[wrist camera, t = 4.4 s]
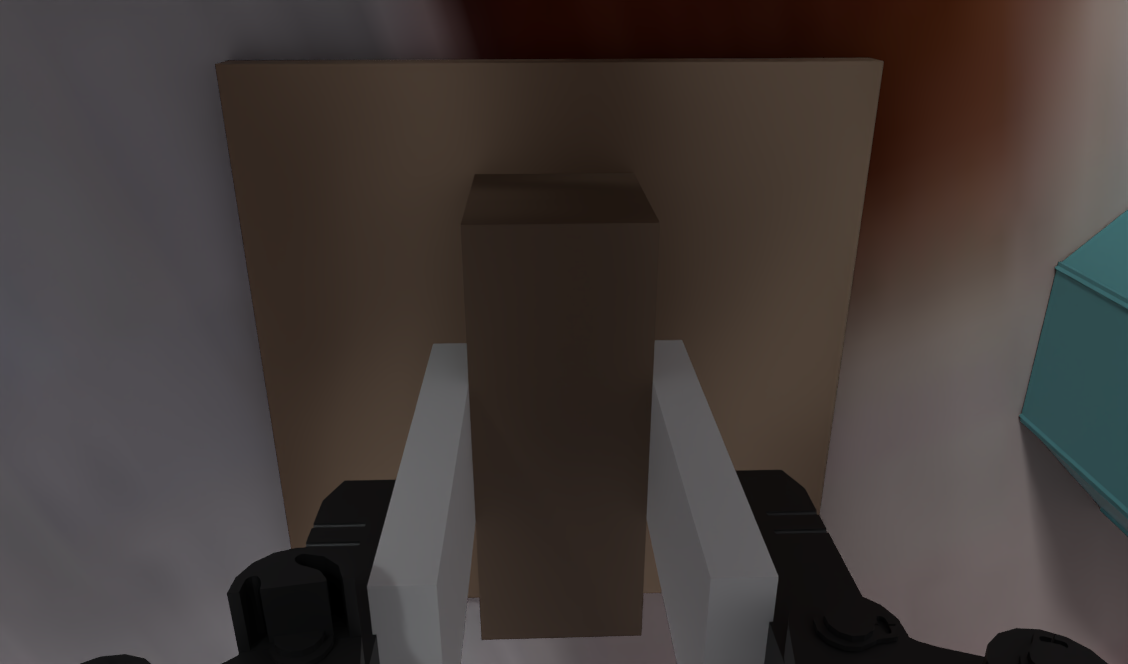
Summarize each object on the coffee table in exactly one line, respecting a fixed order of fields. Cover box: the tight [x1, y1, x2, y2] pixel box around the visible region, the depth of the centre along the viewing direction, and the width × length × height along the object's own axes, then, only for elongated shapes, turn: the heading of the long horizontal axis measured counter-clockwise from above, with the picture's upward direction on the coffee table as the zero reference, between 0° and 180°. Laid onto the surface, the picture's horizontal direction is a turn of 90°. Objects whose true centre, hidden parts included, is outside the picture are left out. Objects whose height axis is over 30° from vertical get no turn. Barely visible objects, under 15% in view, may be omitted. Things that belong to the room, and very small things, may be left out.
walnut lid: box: [215, 58, 884, 640], centre depth 16 cm, size 12×12×5 cm
